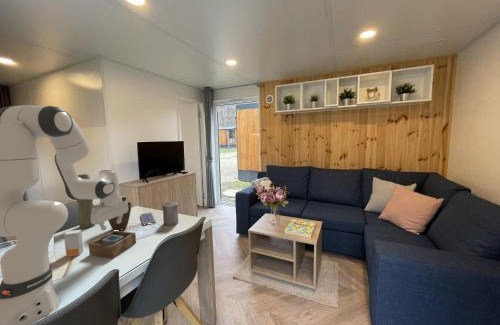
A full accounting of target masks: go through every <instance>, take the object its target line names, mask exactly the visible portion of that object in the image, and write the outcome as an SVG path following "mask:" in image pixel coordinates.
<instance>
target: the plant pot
mask: <svg viewBox="0 0 500 325" xmlns="http://www.w3.org/2000/svg"><path fill="white" fill-rule="evenodd" d="M127 202H128V212H127V213H124V214H123V217H122V219H121V223H119V224H117V222H116V220H118V216H117V217H115V218H112V219H110V220H107V221H108V224H109V225H110V227H111V229H112V231H113V230H121V229H124V228H126V229H127V227H128V224H129V221H130V217H131V212H132V202H130V201H127ZM124 230H125V229H124Z"/></svg>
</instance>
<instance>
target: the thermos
mask: <svg viewBox="0 0 500 325" xmlns="http://www.w3.org/2000/svg"><path fill="white" fill-rule="evenodd" d="M77 175H78V177H80V178H82V179H91V178H90V176H89V174H85V173H83V174H77ZM93 200H94V199H83V200H76V204H77V207H78V208H77V209H78V218H77V220H78V221H77V222H78V225H79V230H86V229H91V228H93V227H95V226H96V224H92V223H91V212H92V211H91V210H92V208H93V207H94V202H93Z"/></svg>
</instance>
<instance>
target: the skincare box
mask: <svg viewBox="0 0 500 325" xmlns="http://www.w3.org/2000/svg"><path fill="white" fill-rule="evenodd" d="M82 230H83V229H75V230H68V231H66V232H65V233H64V234H63V237H64V248H65V256H68V257H75V256H81V255H82V254H83V253H84V243H83V232H82Z"/></svg>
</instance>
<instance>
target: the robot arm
mask: <svg viewBox="0 0 500 325" xmlns="http://www.w3.org/2000/svg"><path fill="white" fill-rule="evenodd" d="M38 138H39V139H41V138H48V139H49V141H50V143H51V145H52V147H53V148H54V150H55V154H54V163H55V165H56V168H57V171H58V173H59V176H60V177H61V180H62V182H63V184H64V190H65V194H66V196H67V197H68V198H69V199H70V200H72V201H77V200H83V199H93V200H99V204H95V205H93V208H92V210H91V211H92V212H91V223H92V224H95V225H99V227H100V228H101V229H100V230H101V231H105V230H107V226H106V225H104V224H105V222H107V221H108V220H110V219H112V218H115V217H117V216H118V220H116V222H117V224H119V223H121V219H122V217H123V214H124V213H127V212H128V202H129V201H128V196H123V195H120V191H119V188H120V181H119V177H118V173H117V171H116V170H111V169H110V170H105V169H104V170H103V169H102V170H100V171H99V172H98V175H97V176H96V177H95V178H92V179H91V178H90V179H82V178H80V177H78V175H79V174H78V172H77V170H76V166H75V163H78V162H80V161H82V160H84V159H85V158H86V157H87V156H88V155H89V153H90V144H89V141H88V140H87V138H86V136H85V135H84V133H83V131H82V129H81V128H80V127H79V124H77V122H76V121H75V119H73V118H72V116H71V115H70V114H69V113H68V111H66V110H65V109H63V108H62V107H58V106H55V105H33V104H25V105H24V104H23V105H9V106H5V107H2V108H0V238H1V237H4V238H5V237H15V238H16V245H14V246H12V247H11V248H9V249H7V250H6V251H5V252H4V254H3V255H1V257H0V271H1V277H2V280H1V282H0V325H30V324H32V323H34V322H36V321H38V320H40V319H42V318H45V317H47V316H49V315H50V314H52V313H54V312H56V313H57V310H58V307H59V306H60V303H61V299H60V297H59V296H58V295H57V294H58V293H57V292H56V290H55V287H54V283H53V269H52V265H50V257H49V245H50V242H51V240H52V238H53V236H54V235H55V234H56V233H57V232H58V231H59V230H60V229H61V228H63V226H64V225H65V224H66V223H67V221H68V218H69V210H68V208H67V207H66V204H64V203H63V202H60V201H56V200H47V199H42V200H41V199H40V200H39V199H37V200H24V195H25V192H26V191H27V190H29V189H31V188H32V187H34V186H35V185H36V184H38V182H39V180H40V171H39V170H40V169H39V162H38V161H39V160H38V154H37V153H38V152H37V147H36V145H35V143H36V140H37V139H38Z"/></svg>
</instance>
